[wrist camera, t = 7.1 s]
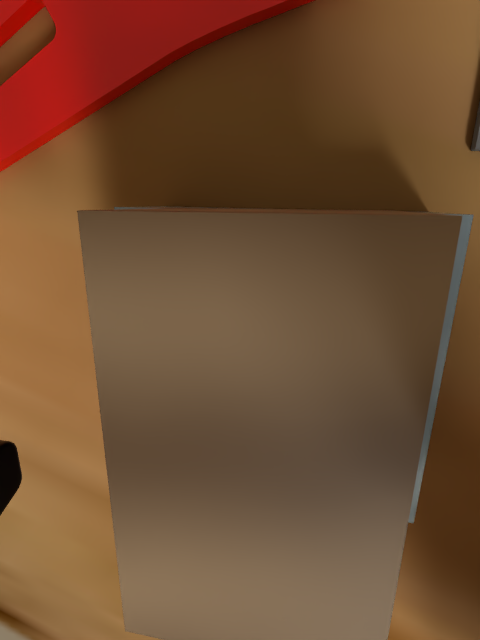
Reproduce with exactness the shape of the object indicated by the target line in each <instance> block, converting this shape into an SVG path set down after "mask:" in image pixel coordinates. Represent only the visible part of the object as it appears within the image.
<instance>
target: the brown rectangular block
mask: <svg viewBox="0 0 480 640" xmlns="http://www.w3.org/2000/svg"><path fill="white" fill-rule="evenodd" d="M77 212H78V221H79V230H80V239H81V247H82V256H83V265H84V274H85V282H86V291H87V300H88V309H89V317H90V326H91V335H92V344H93V353H94V361H95V370H96V379H97V388H98V396H99V405H100V414H101V423H102V431H103V440H104V449H105V458H106V467H107V475H108V484H109V493H110V502H111V510H112V519H113V528H114V537H115V545H116V554H117V563H118V572H119V581H120V589H121V598H122V607H123V616H124V624H125V631H127V632H132V633H136V634H141V635H145V636H150V637H154V638H159V639H163V640H387V639H388V633H389V628H390V622H391V617H392V611H393V605H394V600H395V594H396V588H397V583H398V577H399V571H400V566H401V560H402V554H403V549H404V543H405V538H406V532H407V526H408V521H409V515H410V509H411V504H412V498H413V492H414V487H415V481H416V475H417V470H418V464H419V459H420V453H421V447H422V442H423V436H424V430H425V425H426V419H427V413H428V408H429V402H430V396H431V391H432V385H433V380H434V374H435V368H436V363H437V357H438V351H439V346H440V340H441V334H442V329H443V323H444V318H445V312H446V306H447V301H448V295H449V289H450V284H451V278H452V272H453V267H454V261H455V255H456V250H457V244H458V239H459V233H460V227H461V222H462V216H457V215H444V214H432V213H419V212H406V211H394V210H313V209H229V208H155V209H118V210H81V211H77Z"/></svg>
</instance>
